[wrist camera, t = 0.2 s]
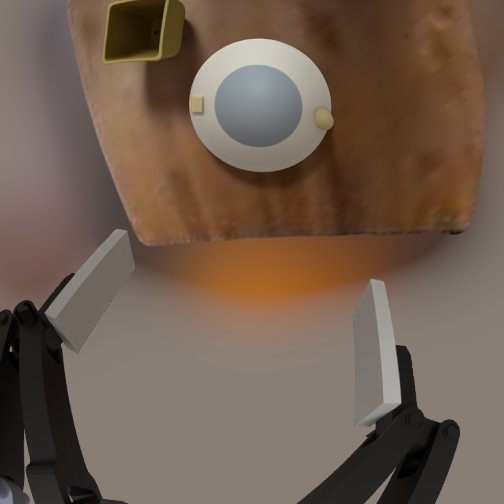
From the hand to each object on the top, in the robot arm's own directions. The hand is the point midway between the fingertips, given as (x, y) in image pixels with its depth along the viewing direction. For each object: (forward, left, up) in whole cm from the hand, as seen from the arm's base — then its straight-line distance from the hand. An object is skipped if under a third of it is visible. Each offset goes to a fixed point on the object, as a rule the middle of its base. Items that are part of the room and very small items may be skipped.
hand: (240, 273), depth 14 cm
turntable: (-5, -4, -26) cm, 27 cm away
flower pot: (-16, -18, -28) cm, 37 cm away
